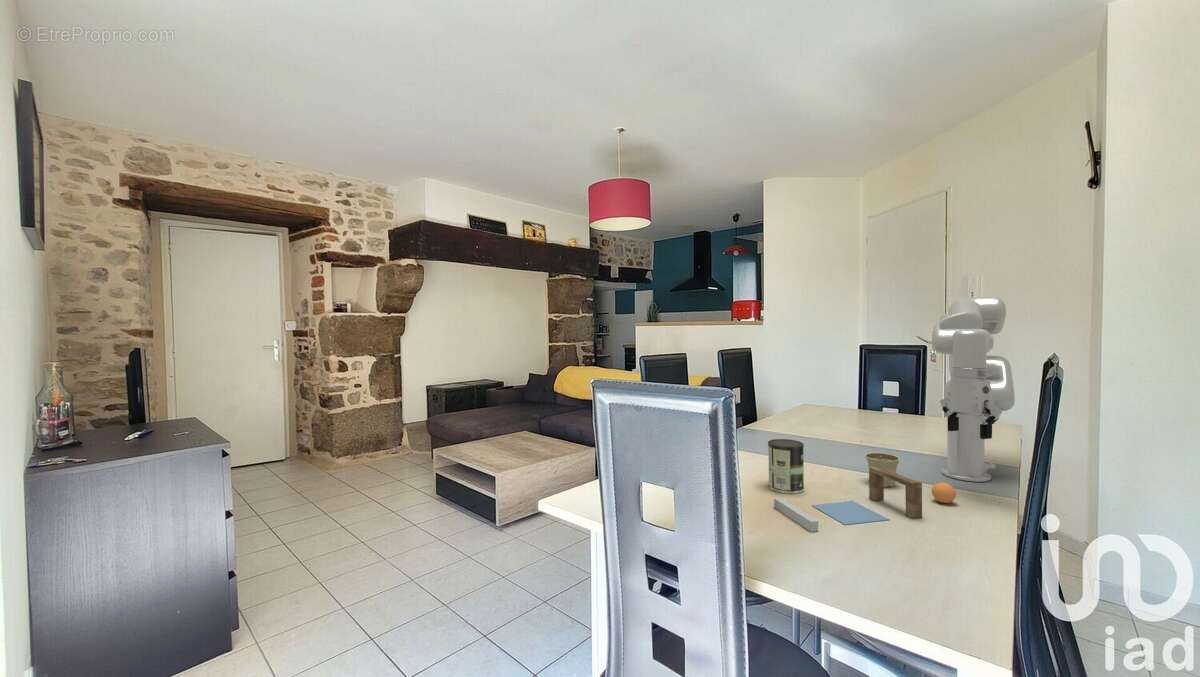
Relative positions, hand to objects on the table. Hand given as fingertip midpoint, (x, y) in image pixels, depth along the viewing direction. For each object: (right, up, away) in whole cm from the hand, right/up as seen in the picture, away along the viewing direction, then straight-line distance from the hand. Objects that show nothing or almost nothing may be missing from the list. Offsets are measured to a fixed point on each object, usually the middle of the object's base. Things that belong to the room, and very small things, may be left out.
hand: (968, 434), depth 132 cm
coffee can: (-47, -19, +12) cm, 52 cm away
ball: (-8, -16, -2) cm, 18 cm away
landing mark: (-38, -19, -7) cm, 43 cm away
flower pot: (-16, -19, +14) cm, 28 cm away
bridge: (-24, -19, -5) cm, 31 cm away
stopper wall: (-54, -20, -10) cm, 58 cm away
